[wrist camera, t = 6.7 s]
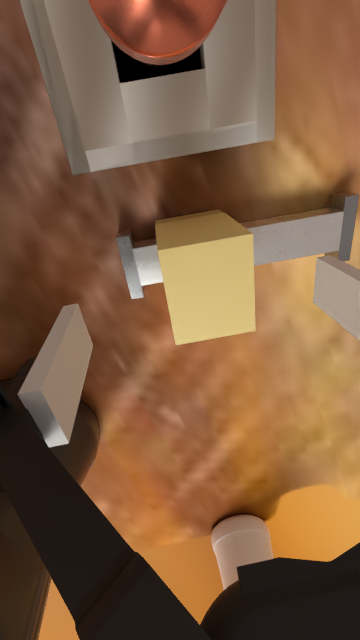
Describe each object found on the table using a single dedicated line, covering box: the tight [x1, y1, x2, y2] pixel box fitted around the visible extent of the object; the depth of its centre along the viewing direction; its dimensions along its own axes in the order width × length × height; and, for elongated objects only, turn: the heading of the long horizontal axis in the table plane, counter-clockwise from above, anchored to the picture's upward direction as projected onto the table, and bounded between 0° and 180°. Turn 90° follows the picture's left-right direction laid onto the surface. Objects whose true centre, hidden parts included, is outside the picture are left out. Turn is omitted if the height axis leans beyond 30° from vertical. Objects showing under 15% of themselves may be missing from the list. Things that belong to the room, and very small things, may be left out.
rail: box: [116, 192, 359, 299], centre depth 23 cm, size 18×5×2 cm, turn 99°
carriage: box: [155, 209, 255, 345], centre depth 20 cm, size 5×6×8 cm
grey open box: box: [20, 0, 276, 175], centre depth 14 cm, size 9×9×9 cm
